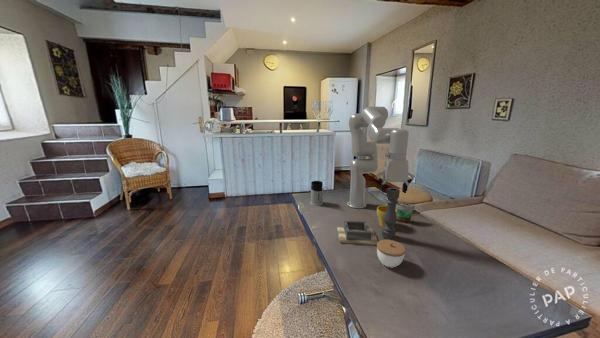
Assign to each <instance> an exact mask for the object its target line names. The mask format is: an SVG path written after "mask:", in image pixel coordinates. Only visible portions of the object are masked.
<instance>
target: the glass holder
mask: <svg viewBox="0 0 600 338" xmlns="http://www.w3.org/2000/svg"><path fill="white" fill-rule="evenodd" d="M310 183H311V185H310V203H309V204H310V205H311V206H314V207H316V206H317V207H319V206H322V205H323V204H324V202H323V201H324V200H325V199H327V197H328V195H329V189H328V187H327V186H323V185H324V184H323V181H321V180H313V181H311V182H310ZM325 188H326V191H327V192H326V195H325V197H324V198H323V192H324V189H325Z"/></svg>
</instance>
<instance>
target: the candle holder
mask: <svg viewBox="0 0 600 338" xmlns="http://www.w3.org/2000/svg"><path fill="white" fill-rule="evenodd" d="M400 192H401V189H400V188H396V187H387V188H386V198H387V200H386V204H387V205H386V206H387V211H386V213H385V216H384V222H385V226H384V227H382V230H381V232H382V233H381V237H382V238H383V240H393V241H395V239H396V228H395V225H396V224H397V223H398V221H397V217H396V205H397V204H399V202H398V199H399V198H400Z"/></svg>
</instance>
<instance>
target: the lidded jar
mask: <svg viewBox="0 0 600 338" xmlns="http://www.w3.org/2000/svg"><path fill="white" fill-rule="evenodd" d="M405 254H406V248H405V246H404V245H403V244H402V243H400V242H398V241H396V240H387V239H381V240H378V243H377V244H376V255H377V258H378V260H379V261H380V262H381V264H382V265H383V266H384V265H385V267H386V268H389V267H390V268H389V269H394V267H395V268H397V267H398V266H400V265H401V264H402V263H403V261H404V259H405Z"/></svg>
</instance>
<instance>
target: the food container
mask: <svg viewBox="0 0 600 338" xmlns="http://www.w3.org/2000/svg"><path fill="white" fill-rule="evenodd" d="M415 209H416V206H415V205H408V204H405V203H398V204H397V205H396V210H397V216H396V217H397V223H402V224H408V223H410V222H411V220H412V218H413V217H412V216H413V214H414V213H413V212H414V210H415Z"/></svg>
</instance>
